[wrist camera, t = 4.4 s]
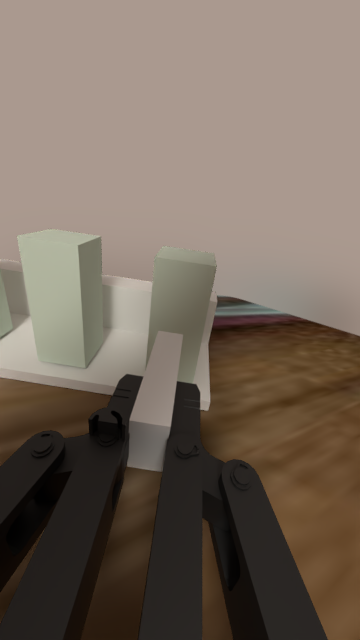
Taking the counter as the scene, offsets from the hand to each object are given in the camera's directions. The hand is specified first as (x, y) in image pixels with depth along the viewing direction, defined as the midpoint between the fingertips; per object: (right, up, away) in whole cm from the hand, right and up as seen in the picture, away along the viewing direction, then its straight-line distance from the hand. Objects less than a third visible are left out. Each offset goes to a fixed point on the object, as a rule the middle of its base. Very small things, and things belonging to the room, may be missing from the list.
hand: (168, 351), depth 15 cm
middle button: (-9, -1, +7) cm, 11 cm away
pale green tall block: (0, -2, +7) cm, 7 cm away
